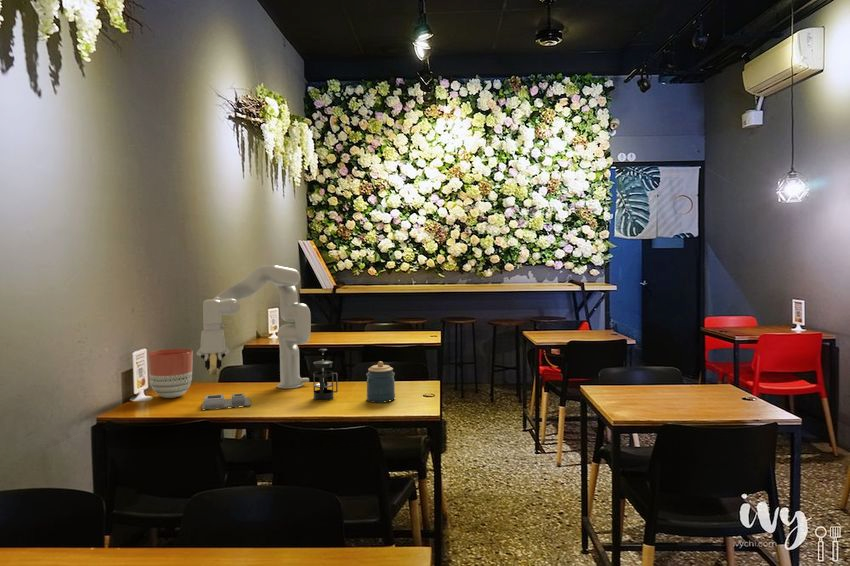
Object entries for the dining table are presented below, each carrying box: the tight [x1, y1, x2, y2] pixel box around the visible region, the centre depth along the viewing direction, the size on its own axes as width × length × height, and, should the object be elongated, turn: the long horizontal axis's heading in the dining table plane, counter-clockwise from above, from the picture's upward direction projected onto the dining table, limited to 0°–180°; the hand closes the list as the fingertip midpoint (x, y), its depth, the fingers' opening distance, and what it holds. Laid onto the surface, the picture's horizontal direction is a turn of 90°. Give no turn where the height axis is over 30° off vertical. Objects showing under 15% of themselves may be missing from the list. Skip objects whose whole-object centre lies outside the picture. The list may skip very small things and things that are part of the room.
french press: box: [312, 348, 339, 401], centre depth 267 cm, size 12×9×23 cm
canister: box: [365, 360, 396, 403], centre depth 264 cm, size 13×13×18 cm
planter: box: [147, 348, 194, 399], centre depth 273 cm, size 20×20×21 cm
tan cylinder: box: [208, 353, 219, 376], centre depth 255 cm, size 4×4×10 cm
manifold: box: [201, 393, 251, 411], centre depth 257 cm, size 20×14×4 cm
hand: (213, 368), depth 255 cm, fingers closed on tan cylinder, 4 cm apart
